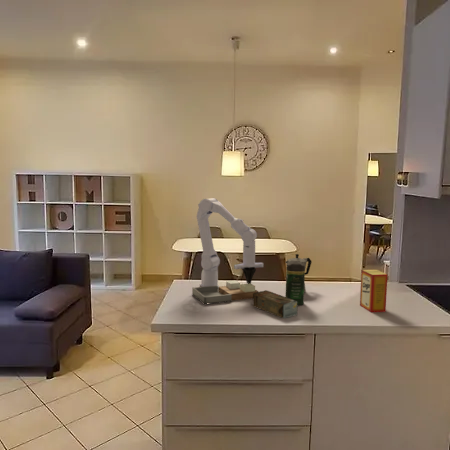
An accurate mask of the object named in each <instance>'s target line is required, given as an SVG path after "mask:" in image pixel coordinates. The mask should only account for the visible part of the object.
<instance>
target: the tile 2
mask: <svg viewBox="0 0 450 450" xmlns="http://www.w3.org/2000/svg"><path fill="white" fill-rule="evenodd" d="M240 285H241V290H242V291H244V292H253V291H255V290H256V285H254V284H252V282H251V283H249V284H248V283H242V284H241V283H240Z"/></svg>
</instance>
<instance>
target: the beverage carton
mask: <svg viewBox="0 0 450 450" xmlns="http://www.w3.org/2000/svg"><path fill="white" fill-rule="evenodd" d="M252 306H253V307H254V308H257V309H259V310H262V311H265V312H267V313H270V314H272V315H275V316H277V317H280V318H283V319H286V318H290V317H294V316H297V315H298V306H297V301H295V300H292V299H289V298H287V297H285V295H282V294H281V295H280V294H277V293H275V292H273V291H270V290H262V291H259V292H256V293H253V298H252Z"/></svg>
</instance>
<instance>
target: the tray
mask: <svg viewBox="0 0 450 450" xmlns="http://www.w3.org/2000/svg"><path fill="white" fill-rule="evenodd" d="M218 286H219V285H217V286H206V287H202V286H197V287H196V286H195V287H192V294H193V295H192V294H191V295H192V296H194V297H195V296H196V297H197V298H198V299H199V300H198V299H197V298H196V297H195V298H196V299H197V300H198V301H200V300H201V301H202V302H203V303H204V304H206V305H208V304H207V303H215V304H220V303H219V302H224V303H231V302H232V301H231V296H232V295H231V294H227V295H223V294H221V293H220V292H219V288H218ZM201 301H200V302H201ZM202 302H201V303H202ZM203 303H202V304H203ZM204 304H203V305H204Z"/></svg>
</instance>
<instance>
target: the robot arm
mask: <svg viewBox="0 0 450 450" xmlns="http://www.w3.org/2000/svg"><path fill="white" fill-rule="evenodd" d="M197 205H198V210H197V213H196V220H197V221H196V222H197V226H198V231H199V237H200V243H201V246H202V247H201V248H202V253H201V262H200V265H201V268H202V271H201V276H200V278H201V279H200V281H201V282H200V284H199V287H206V286H217V285H218V284H219V266H220V264H221V259H220V257H219V256H218V252H217V251H216V250H215V248H214V243H213V238H212V233H211V227H210V222H209V217H210V216H211V215H212V214H213V213H215V214H219V215H220V216H221V217H222V218H223V219H225V220H226V221H228V223H230V227H231V228H232V229H233V230H234V232H236V233H237V234H238V235H239V236H240V237H241V240H242V243H243V245H242V246H243V247H242V249H243V250H242V251H243V252H242V263H238V264H234V265H233V267H234V268H233V269H235V270H241V269H242V272H243V274H244V277H245V281H246V284H249V283H251V284H252V281H253V280H252V279H253V277H254V275H255V273H256V271H257V269H256V268H264V266H265V265H264V262H256V239H257V238H258V232H257V231H256V230H255V229H253V228H251V226H248V224H246V223H245V222H244V219H242V218H239V217H238V218H237V217H235V216H234V215H233V213H231V212H230V211H229V210H228V209H227V208H226V207H225V206H224V205H223V203H222V202H221V201H219V200H218V199H217V198H215V197H211V198H203V199H201V200H200V202H199V203H198V204H197ZM219 287H220V286H219V285H218V289H219Z"/></svg>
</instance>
